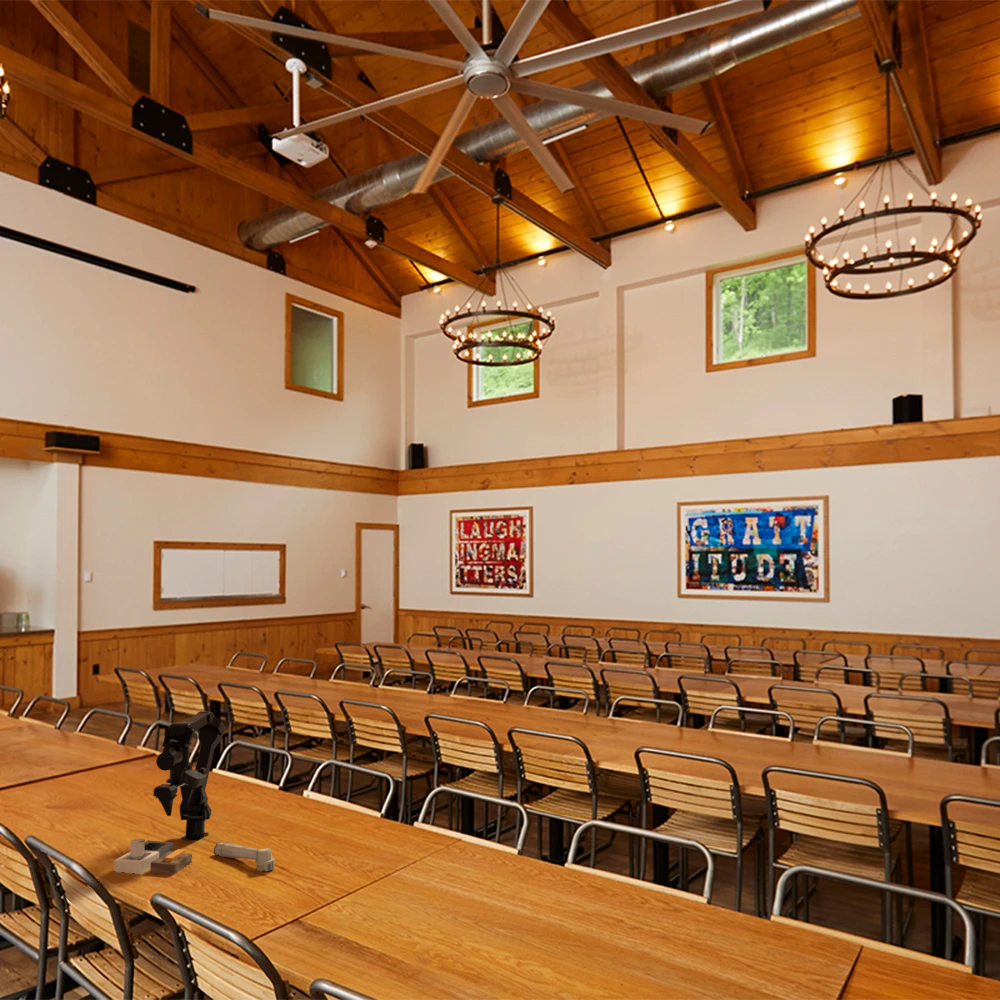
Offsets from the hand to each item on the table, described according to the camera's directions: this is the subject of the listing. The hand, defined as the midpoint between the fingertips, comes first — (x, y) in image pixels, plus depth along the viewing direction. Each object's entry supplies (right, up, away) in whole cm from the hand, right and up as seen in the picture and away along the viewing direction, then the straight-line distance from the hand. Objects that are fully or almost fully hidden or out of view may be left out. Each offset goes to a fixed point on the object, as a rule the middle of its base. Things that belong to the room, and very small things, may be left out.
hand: (177, 811), depth 251 cm
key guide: (+4, -12, -13) cm, 18 cm away
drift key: (+4, -12, -12) cm, 17 cm away
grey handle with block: (+24, -13, -9) cm, 29 cm away
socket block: (-7, -13, -3) cm, 15 cm away
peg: (-7, -12, -13) cm, 19 cm away
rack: (-7, -12, -13) cm, 19 cm away
